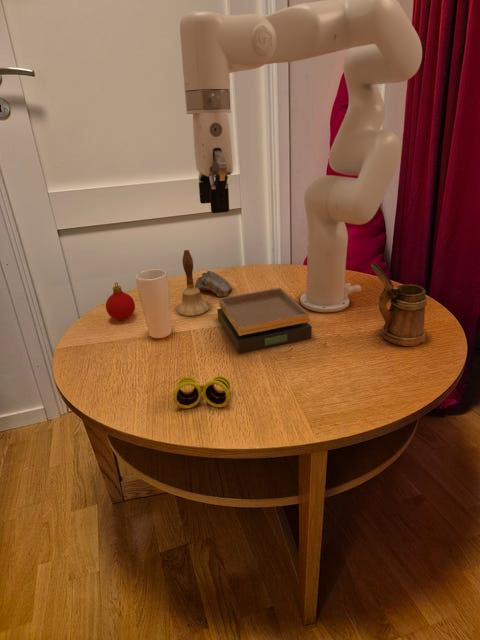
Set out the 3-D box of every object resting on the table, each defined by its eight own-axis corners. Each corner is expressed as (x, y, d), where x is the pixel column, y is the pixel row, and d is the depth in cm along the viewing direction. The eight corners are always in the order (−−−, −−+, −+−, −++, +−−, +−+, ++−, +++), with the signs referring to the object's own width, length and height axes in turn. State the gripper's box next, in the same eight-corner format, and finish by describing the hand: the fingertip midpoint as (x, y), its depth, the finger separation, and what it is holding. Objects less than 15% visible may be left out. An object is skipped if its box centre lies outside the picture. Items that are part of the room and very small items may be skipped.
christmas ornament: (132, 324, 101) (125, 287, 96) (104, 325, 102) (96, 288, 97) (140, 312, 107) (133, 276, 103) (114, 312, 108) (106, 277, 103)
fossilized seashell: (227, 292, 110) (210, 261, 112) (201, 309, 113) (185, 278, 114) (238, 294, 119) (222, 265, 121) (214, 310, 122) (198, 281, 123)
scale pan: (280, 294, 103) (280, 287, 102) (308, 321, 89) (309, 313, 88) (219, 305, 99) (218, 298, 98) (239, 336, 85) (238, 327, 84)
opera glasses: (231, 395, 75) (230, 370, 74) (230, 409, 70) (228, 383, 69) (179, 397, 76) (176, 372, 74) (174, 411, 70) (171, 385, 69)
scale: (281, 307, 105) (281, 295, 104) (311, 338, 90) (312, 324, 89) (218, 320, 101) (217, 306, 99) (239, 354, 86) (238, 339, 85)
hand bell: (171, 309, 108) (163, 251, 100) (197, 300, 112) (190, 243, 105) (189, 319, 102) (181, 258, 95) (215, 309, 107) (210, 250, 99)
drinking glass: (169, 341, 92) (159, 280, 86) (141, 340, 94) (130, 279, 87) (178, 327, 98) (171, 269, 91) (152, 326, 100) (142, 268, 93)
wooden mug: (355, 331, 92) (362, 255, 84) (411, 324, 94) (423, 249, 86) (372, 351, 85) (382, 270, 76) (433, 343, 86) (449, 262, 78)
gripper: (244, 101, 62) (246, 214, 70) (217, 105, 77) (222, 198, 85) (195, 102, 60) (203, 218, 68) (178, 106, 75) (186, 201, 83)
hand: (213, 207), depth 76 cm, fingers open, 9 cm apart
